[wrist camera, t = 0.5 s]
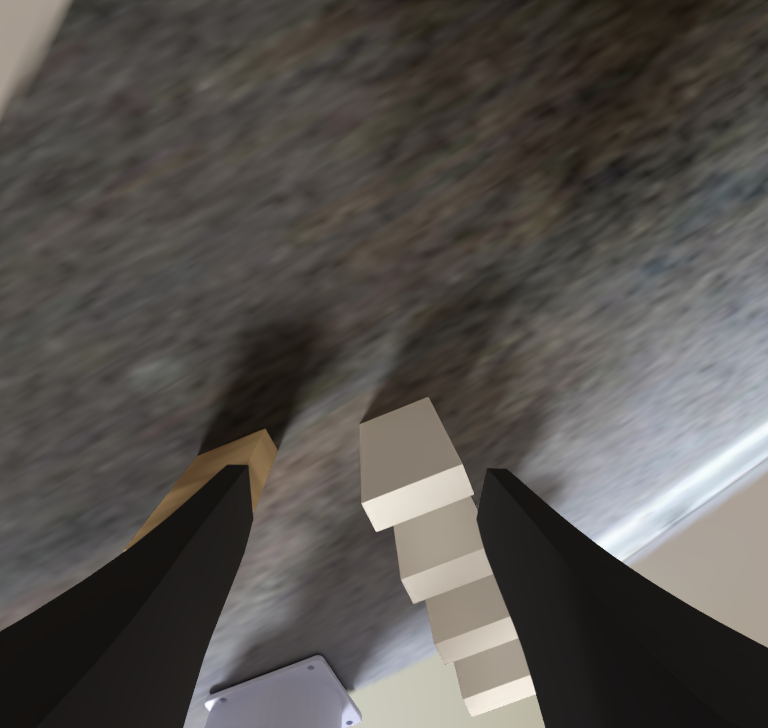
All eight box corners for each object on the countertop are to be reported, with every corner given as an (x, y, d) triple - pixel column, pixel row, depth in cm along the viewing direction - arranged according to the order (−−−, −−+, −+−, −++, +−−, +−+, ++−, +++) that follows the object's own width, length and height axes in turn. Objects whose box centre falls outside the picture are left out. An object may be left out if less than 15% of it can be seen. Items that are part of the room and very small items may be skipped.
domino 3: (420, 552, 24) (444, 664, 18) (412, 535, 24) (434, 644, 17) (480, 529, 24) (528, 634, 18) (473, 511, 24) (519, 612, 17)
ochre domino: (210, 477, 21) (146, 578, 15) (197, 456, 21) (122, 550, 14) (277, 450, 21) (242, 540, 15) (265, 428, 21) (222, 511, 14)
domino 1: (369, 446, 22) (376, 532, 15) (359, 424, 21) (361, 503, 14) (437, 419, 21) (474, 494, 15) (428, 396, 21) (462, 463, 14)
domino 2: (396, 502, 23) (413, 603, 16) (387, 483, 23) (400, 579, 16) (460, 477, 23) (503, 570, 16) (452, 457, 22) (493, 544, 16)
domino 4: (441, 596, 26) (471, 717, 19) (434, 581, 25) (462, 699, 19) (498, 575, 26) (549, 689, 19) (492, 559, 25) (542, 670, 18)
